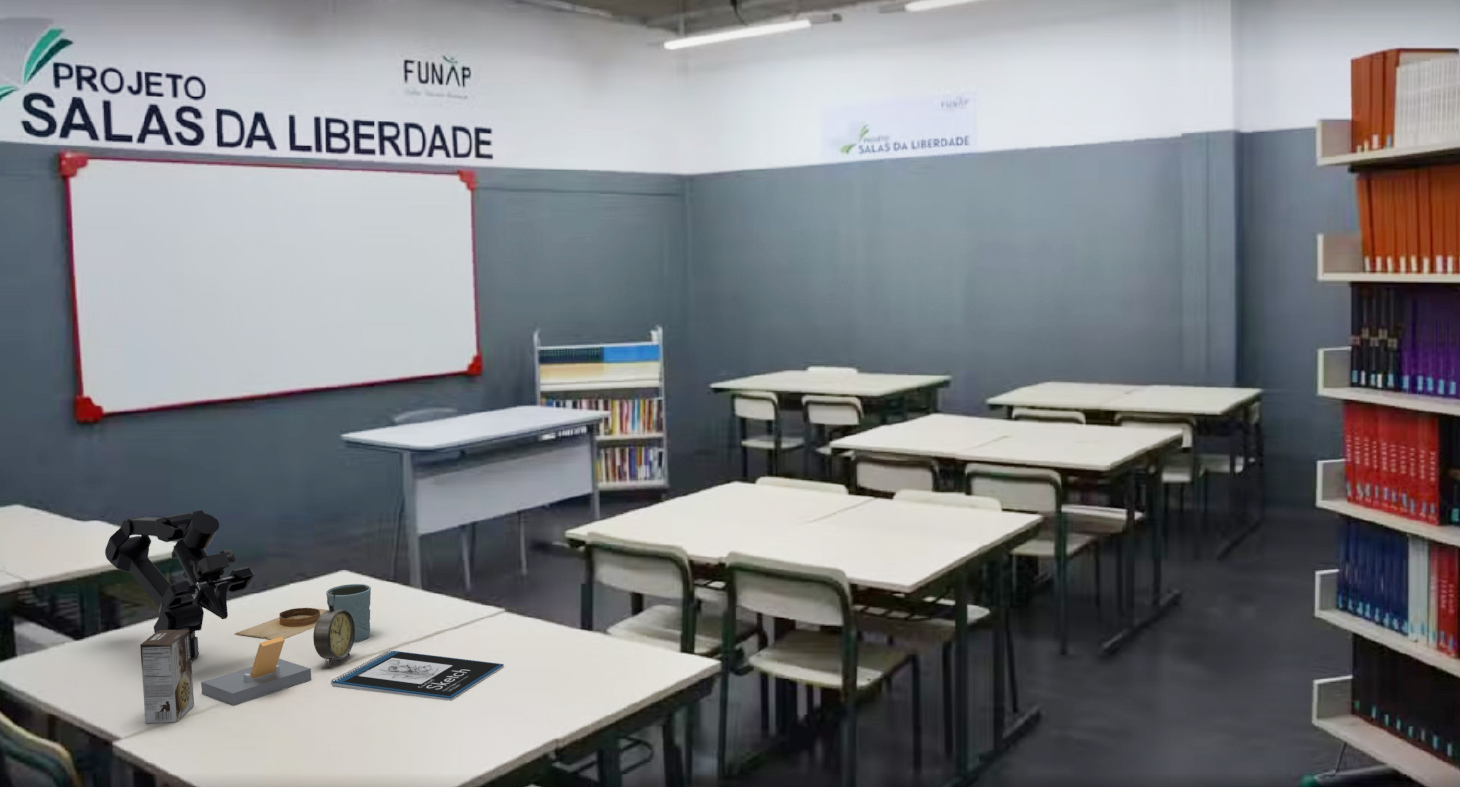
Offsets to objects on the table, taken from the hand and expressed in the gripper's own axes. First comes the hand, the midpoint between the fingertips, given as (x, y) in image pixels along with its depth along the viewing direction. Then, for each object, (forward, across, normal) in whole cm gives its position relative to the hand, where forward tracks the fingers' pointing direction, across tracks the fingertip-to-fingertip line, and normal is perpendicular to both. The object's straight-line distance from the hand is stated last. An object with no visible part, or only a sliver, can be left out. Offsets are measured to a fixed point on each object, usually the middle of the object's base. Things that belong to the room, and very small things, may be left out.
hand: (225, 617), depth 249 cm
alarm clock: (+17, +19, +2) cm, 26 cm away
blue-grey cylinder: (+9, +32, +10) cm, 35 cm away
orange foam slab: (+16, 0, -2) cm, 17 cm away
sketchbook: (+34, +24, -15) cm, 44 cm away
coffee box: (+17, -19, +2) cm, 26 cm away
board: (-6, +31, +26) cm, 41 cm away
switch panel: (+17, 0, +1) cm, 17 cm away
